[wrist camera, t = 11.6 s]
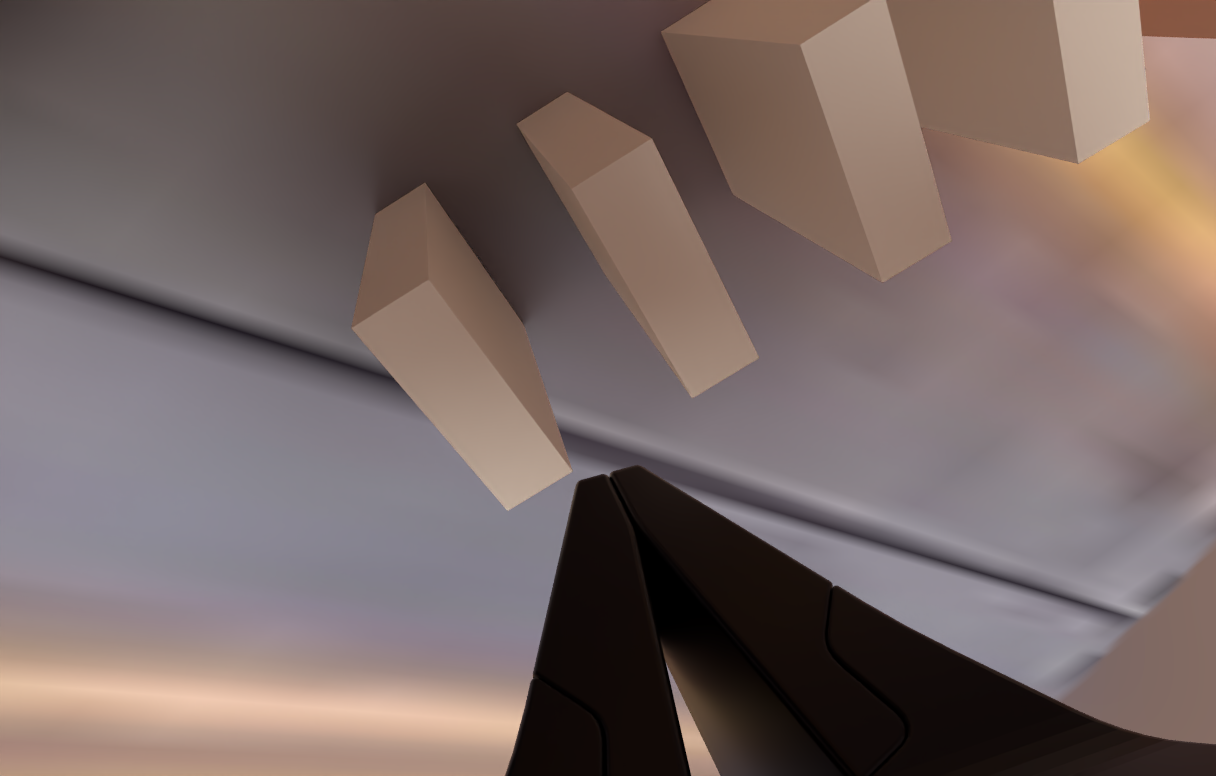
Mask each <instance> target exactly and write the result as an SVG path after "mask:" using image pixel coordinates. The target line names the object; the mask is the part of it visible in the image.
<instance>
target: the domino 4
mask: <svg viewBox="0 0 1216 776" xmlns="http://www.w3.org/2000/svg"><path fill="white" fill-rule="evenodd" d="M886 3H887V7H888V10H889V14H890V18H891V21H892V25H893V29H894V32H895V36H896V40H897V43H898V47H899V51H900V54H901V58H902V61H903V65H904V69H905V72H906V76H907V80H908V83H909V87H910V91H911V94H912V98H913V102H914V105H915V109H916V112H917V116H918V120H919V123H920V127H923V128H928V129H932V130H936V131H940V132H945V133H949V134H953V135H957V136H962V137H966V138H970V139H975V140H979V141H983V142H987V143H992V144H996V145H1000V146H1005V147H1009V148H1013V149H1017V150H1022V151H1026V152H1030V153H1035V154H1039V155H1043V156H1047V157H1052V158H1056V159H1060V160H1064V161H1069V162H1073V163H1077V164H1079V163H1081V162H1082V161H1084V160H1086V159H1087V158H1089V157H1090V156H1092V155H1094V154H1095V153H1097V152H1099V151H1100V150H1102V149H1104V148H1105V147H1107V146H1109V145H1110V144H1112V143H1114V142H1115V141H1117V140H1119V139H1120V138H1122V137H1124V136H1125V135H1127V134H1128V133H1130V132H1132V131H1133V130H1135V129H1137V128H1138V127H1140V126H1142V125H1143V124H1145V123H1147V122H1148V121H1150V116H1149V105H1148V94H1147V84H1146V73H1145V63H1144V52H1143V42H1142V31H1141V21H1140V10H1139V0H886Z"/></svg>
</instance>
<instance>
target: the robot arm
mask: <svg viewBox="0 0 1216 776" xmlns="http://www.w3.org/2000/svg"><path fill="white" fill-rule="evenodd" d="M665 661H666V662H665ZM666 663H667V666H668V668H669V670H670V672H671V674H672V676H673V678H674V680H675V682H676V684H677V686H678V688H679V690H680V692H681V695H682V697H683V699H684V701H685V703H686V705H687V707H688V709H689V711H690V713H691V715H692V717H693V719H694V721H695V724H696V726H697V728H698V730H699V732H700V734H701V736H702V738H703V740H704V742H705V744H706V746H707V748H708V751H709V753H710V755H711V757H712V759H713V761H714V763H715V765H716V767H717V769H718V771H719V773H720V775H721V776H1216V744H1205V743H1193V742H1183V741H1174V740H1167V739H1162V738H1157V737H1152V736H1147V735H1143V734H1140V733H1137V732H1133V731H1129V730H1126V729H1123V728H1120V727H1117V726H1114V725H1112V724H1109V723H1106V722H1103V721H1101V720H1098V719H1096V718H1094V717H1091V716H1089V715H1087V714H1085V713H1083V712H1080V711H1078V710H1075V709H1074V708H1071V707H1070V706H1067V705H1065V704H1063V703H1061V702H1059V701H1057V700H1055V699H1053V698H1051V697H1049V696H1047V695H1045V694H1043V693H1041V692H1039V691H1037V690H1035V689H1033V688H1030V687H1028V686H1026V685H1024V684H1022V683H1020V682H1018V681H1016V680H1014V679H1012V678H1010V677H1008V676H1006V675H1004V674H1002V673H1000V672H998V671H995V670H993V669H991V668H989V667H987V666H985V665H983V664H981V663H979V662H977V661H975V660H973V659H971V658H969V657H967V656H965V655H963V654H960V653H958V652H956V651H954V650H952V649H950V648H948V647H946V646H944V645H943V644H941V643H939V642H937V641H935V640H933V639H931V638H929V637H927V636H925V635H923V634H921V633H919V632H917V631H915V630H913V629H911V628H909V627H907V626H906V625H904V624H902V623H900V622H898V621H897V620H895V619H893V618H891V617H890V616H888V615H886V614H884V613H883V612H881V611H879V610H878V609H876V608H874V607H872V606H871V605H869V604H867V603H865V602H864V601H862V600H860V599H859V598H857V597H855V596H854V595H852V594H850V593H849V592H847V591H846V590H844V589H842V588H841V587H839V586H834V587H833V585H832V583H831V582H830V581H829V580H827V579H825V578H824V577H822V576H821V575H819V574H817V573H816V572H814V571H812V570H811V569H809V568H807V567H806V566H804V565H803V564H801V563H799V562H798V561H796V560H794V559H793V558H791V557H789V556H788V555H786V554H785V553H783V552H781V551H780V550H778V549H776V548H775V547H773V546H771V545H770V544H768V543H766V542H765V541H763V540H762V539H760V538H758V537H757V536H755V535H753V534H752V533H750V532H748V531H747V530H745V529H744V528H742V527H740V526H739V525H737V524H735V523H734V522H732V521H730V520H729V519H727V518H726V517H724V516H722V515H721V514H719V513H717V512H716V511H714V510H712V509H711V508H709V507H708V506H706V505H704V504H703V503H701V502H699V501H698V500H696V499H694V498H693V497H691V496H690V495H688V494H686V493H685V492H683V491H681V490H680V489H678V488H676V487H675V486H673V485H672V484H670V483H668V482H667V481H665V480H663V479H662V478H660V477H658V476H657V475H655V474H654V473H652V472H650V471H649V470H647V469H645V468H644V467H642V466H639V465H635V466H631V467H627V468H623V469H620V470H616V471H613V472H611V474H610V476H609V477H608V476H607V475H605V474H601V475H598V476H594V477H590V478H587V479H583V480H580V481H578V482H577V484H576V487H575V491H574V495H573V500H572V504H571V509H570V513H569V517H568V522H567V526H566V531H565V535H564V539H563V544H562V548H561V553H560V557H559V561H558V566H557V570H556V575H555V579H554V583H553V588H552V592H551V596H550V601H549V605H548V610H547V614H546V618H545V623H544V627H543V632H542V636H541V640H540V645H539V649H538V654H537V658H536V662H535V667H534V671H533V679H532V681H531V683H530V687H529V691H528V696H527V700H526V705H525V709H524V713H523V716H522V720H521V724H520V728H519V731H518V735H517V739H516V743H515V746H514V750H513V754H512V756H511V759H510V762H509V765H508V768H507V771H506V774H505V776H691V773H690V769H689V764H688V760H687V755H686V751H685V746H684V742H683V738H682V733H681V729H680V724H679V720H678V715H677V711H676V706H675V702H674V698H673V693H672V689H671V684H670V680H669V675H668V671H667V666H666Z"/></svg>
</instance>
